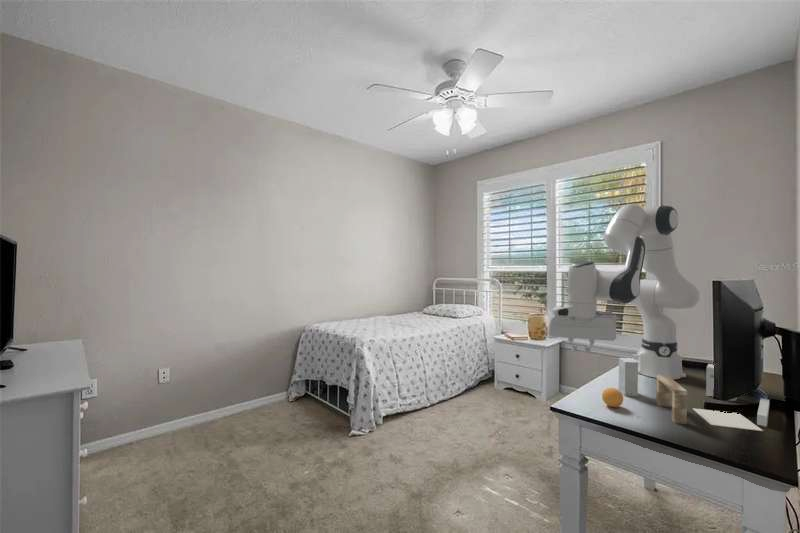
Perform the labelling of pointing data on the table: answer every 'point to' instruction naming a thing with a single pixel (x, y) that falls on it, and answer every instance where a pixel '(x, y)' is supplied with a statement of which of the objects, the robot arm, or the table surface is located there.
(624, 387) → the skincare box
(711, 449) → the table surface
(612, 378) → the table surface
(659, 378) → the bridge
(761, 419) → the rail
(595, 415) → the table surface
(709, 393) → the small box
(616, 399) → the ball
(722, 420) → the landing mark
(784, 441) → the table surface
